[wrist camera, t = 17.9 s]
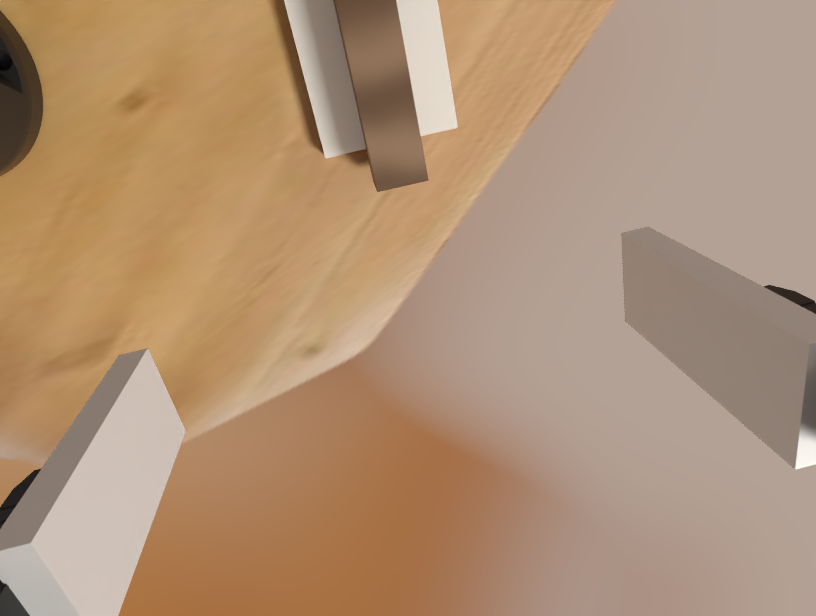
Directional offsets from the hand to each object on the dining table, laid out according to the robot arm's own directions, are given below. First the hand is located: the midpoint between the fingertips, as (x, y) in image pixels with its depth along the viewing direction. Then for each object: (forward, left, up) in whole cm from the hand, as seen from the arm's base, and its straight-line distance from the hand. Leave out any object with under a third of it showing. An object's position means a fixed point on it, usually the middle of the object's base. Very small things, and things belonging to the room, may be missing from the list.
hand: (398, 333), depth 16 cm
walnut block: (-5, +10, -33) cm, 35 cm away
